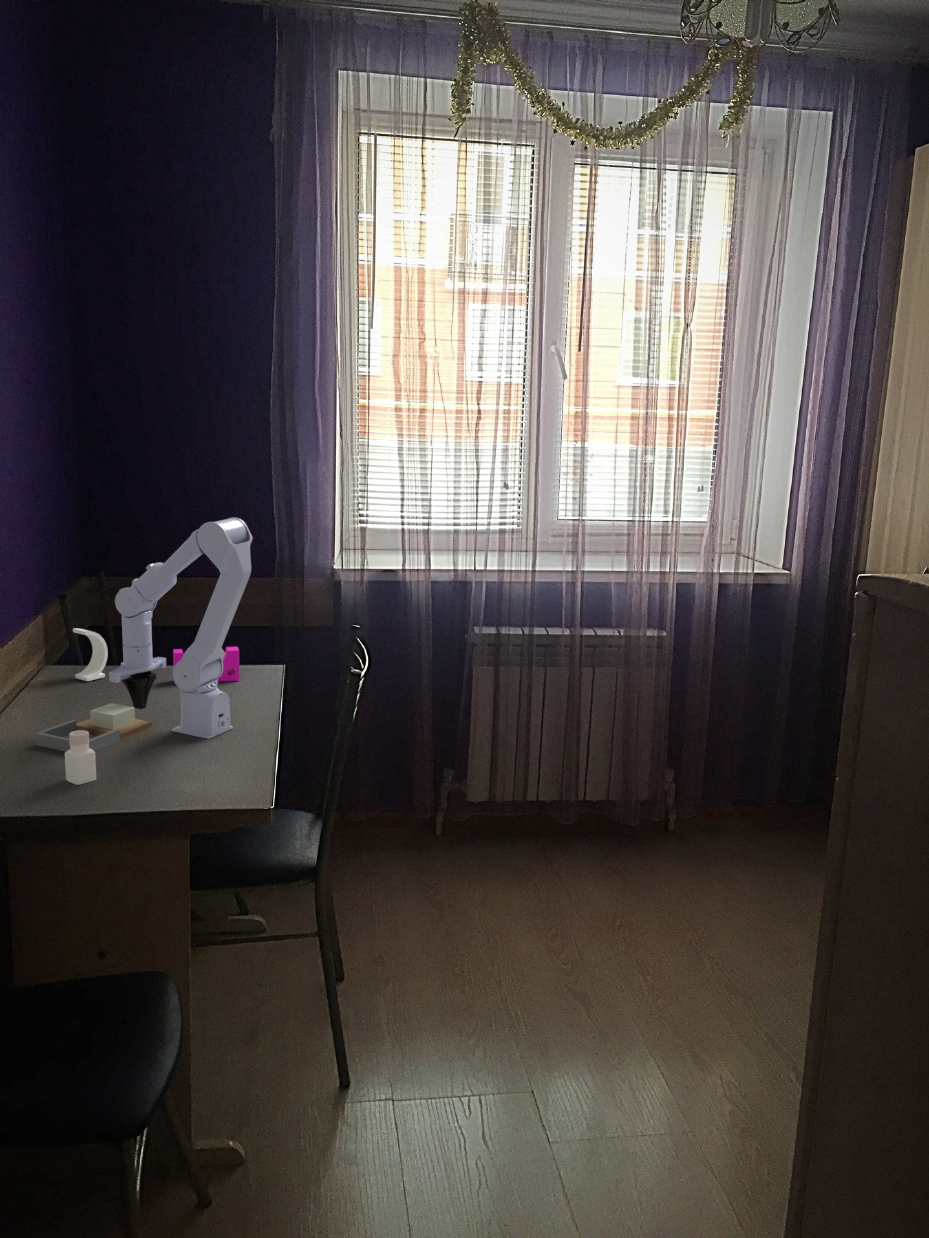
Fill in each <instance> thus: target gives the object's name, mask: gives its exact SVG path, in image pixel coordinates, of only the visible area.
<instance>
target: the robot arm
mask: <svg viewBox="0 0 929 1238" xmlns="http://www.w3.org/2000/svg"><path fill="white" fill-rule="evenodd" d="M253 539H254V538H253V535H252V534H251V531H250V529H249V527H248V525H247V523H246V522H245V521H244V520H243V519H241V518H239V517H228V518H226V519H222V520H217V521H208V522H205V523H203V524H202V525H200V527H199V528H198V529H196V530H194V531H192V532H191V534H190V536H189V537H187V539H186V540H185V541H184V542H183V543H182V544H181V546H179V547H178V548H177V549H176V550H175V551H174V553H172V554H171V556H170V557H168V559H167V560H166V561H165V562H155V563H150V564H148V565H147V566H146V567H145V569H146V571H145V572H144V573H143V574H141V576H140V577H138V578H135V579H133V580H132V581H131V586H130V587H123V588H121V589H119V591H118V592H117V594H116V595H115V598H114V604H115V605H114V606H115V607H116V610H117V611H118V613H119V614H121V628H122V629H121V630H122V636H121V637H122V653H123V654H122V659H123V661H122V662H121V663H120V666H119V667H117V668H115V669H114V670H112V671H109V672H108V681H109V682H110V683H111V682H112V683H116V684H117V683H120V682H122V683H123V684H124V686H125V689H126V690H127V692H128V693H129V696H130V700H131V702H132V705H133V706H132V707H134V708H135V709H139V710H143V709H146V707H147V703H148V700H149V699H148V698H149V694H150V692H151V689H152V687H153V684H154V683H155V681H156V679H157V674H156V673H155V672H151V671H154V670H156V669H159V668H162V669H163V668H166V667H167V658H166V657H162V656H161V657H160V656H157V657H153V639H152V638H153V636H152V635H153V634H152V633H153V632H152V631H153V630H152V628H153V627H152V618H153V611H154V610H155V609H156V606H157V603H158V601H159V600H160V599H161V598H162V597H163V596H164V595H165V594H166V593H168V592H169V591H170V590H171V589H172V588H173V587H174V586H175V585H176V584H177V579H178V578H177V575H178V574H180V573H181V572H182V571H183V570H184V569H186V568H188V566H190V565H191V564H192V563H193V562H194V561H196V560H197V559H198V558H199V557H201V556H202V555H203V554H205V555H206V556H207V558H208V559H209V560H210V561H211V562H212V564H214V566H215V567H216V568H217V569H218V570H219V573H220V575H219V577H218V579H217V582H216V584H215V587H214V589H213V593H212V594H211V598H210V600H209V603H208V605H207V607H206V611H205V613H204V614H203V615H204V616H203V618H202V621H201V622H200V623H201V624H200V627H199V628H198V631H197V633H196V636H195V639H194V641H193V643H191V645H190V646H189V647H188V648H187V649H186V650H185V652H183V654H184V655H183V657H182V659H181V660H180V661H179V662H178V663H177V664H176V665H175V666H174V665H173V668H172V680H173V682H174V685H175V686H176V687H178V691H179V693H180V722H181V723H180V725H177V726H176V727H173V728H172V729H171V731H172V732H174V733H179V734H185V735H188V736H192V737H197V738H203V739H208V740H209V739H212V738H214V737H217V736H218V735H221V734H223V733H226V732H228V731H231V730H233V728H234V726H233V725H231V701H230V697H229V694H228V693H226V692H223V691H222V690H220V689H219V688H218V684H219V682H218V678H219V677H220V676H221V675H222V672H223V658H224V656H225V651H224V650H223V648H222V647H223V644H224V642H225V639H226V637H227V635H228V632H229V630H230V627H231V624H232V622H233V619H234V617H235V615H236V612H237V609H238V606H239V604H240V602H241V599H242V596H243V594H244V592H245V589H246V587H247V584H248V581H249V579H250V577H251V573H252V561H251V560H252V558H251V544H252V542H253Z"/></svg>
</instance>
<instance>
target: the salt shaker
mask: <svg viewBox="0 0 929 1238" xmlns="http://www.w3.org/2000/svg"><path fill="white" fill-rule="evenodd" d="M69 740H70V741H69V743H70V750H68V751H66V752H64V765H65V766H64V768H65V781H67V782H69V783H72V784H74V785H77V786H79V785H83V784H87V783H90V782H93V781H96V780H97V767H96V765H97V763H96V761H97V759H96V751H93V750H92V749H90V748H89V732H88V731H84V730H78V731H73V732H70V734H69Z"/></svg>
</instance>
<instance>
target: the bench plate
mask: <svg viewBox="0 0 929 1238" xmlns="http://www.w3.org/2000/svg"><path fill="white" fill-rule="evenodd" d="M78 730H84V731H88V732H89V735H93V736H100V735H102V734H105V733H108V732H110V731H113V730H111V729H107V728H102V727H97V726H93V725H91V722H90V718H88V719H86V720H82V721H80V722H77V731H78ZM118 730H120V742H119V743H121V742H123V741H127V740H129V739H131V738H134V736H135V737H136V736H140V735H143V734H144V733H148V732H151V731H153V722H152V721H147V720H143V719H138V718H135V722H133V723H131V724H128V725H125V726H123V727H120V728H118Z"/></svg>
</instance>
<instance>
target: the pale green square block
mask: <svg viewBox="0 0 929 1238" xmlns="http://www.w3.org/2000/svg"><path fill="white" fill-rule="evenodd" d="M135 710H136V708H134V706H128V705H123V704H120V703H119V704H117V703H113V702H111V703H108V704H105V705H102V706H99V707H96V708H93V709H91V710H89V719H90V722H91V725H93V726H97V727H102V728H107V729H111V730H115V729H118V728H120V727H123V726H125V725H128V724H131V723H133V722H135V719H136V711H135Z"/></svg>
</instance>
